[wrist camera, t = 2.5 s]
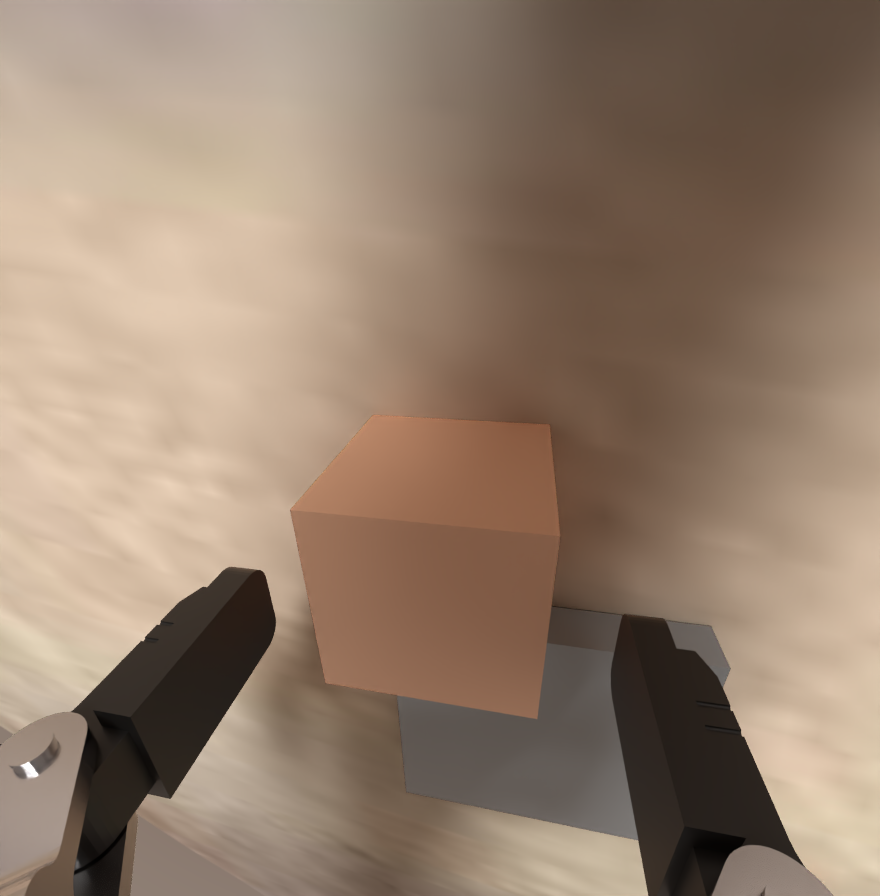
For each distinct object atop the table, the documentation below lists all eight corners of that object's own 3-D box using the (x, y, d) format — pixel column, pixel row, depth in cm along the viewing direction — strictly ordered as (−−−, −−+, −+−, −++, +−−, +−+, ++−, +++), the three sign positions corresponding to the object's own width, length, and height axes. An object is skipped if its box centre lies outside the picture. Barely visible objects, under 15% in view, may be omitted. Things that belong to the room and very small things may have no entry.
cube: (373, 414, 13) (290, 509, 8) (549, 422, 12) (560, 535, 7) (386, 550, 15) (325, 683, 11) (535, 566, 14) (537, 719, 10)
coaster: (402, 587, 15) (390, 621, 14) (711, 626, 14) (730, 668, 12) (414, 754, 20) (406, 791, 18) (649, 799, 18) (659, 844, 17)
